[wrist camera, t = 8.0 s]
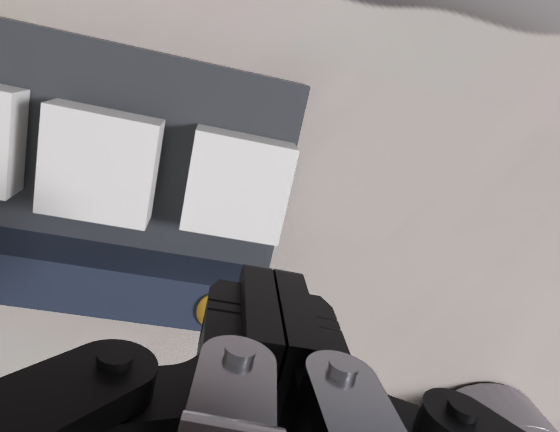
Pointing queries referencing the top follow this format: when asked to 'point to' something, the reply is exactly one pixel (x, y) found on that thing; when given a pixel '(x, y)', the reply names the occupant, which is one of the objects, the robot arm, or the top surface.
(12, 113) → the outer key
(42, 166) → the middle key
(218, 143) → the inner key
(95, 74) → the keypad
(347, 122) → the top surface
